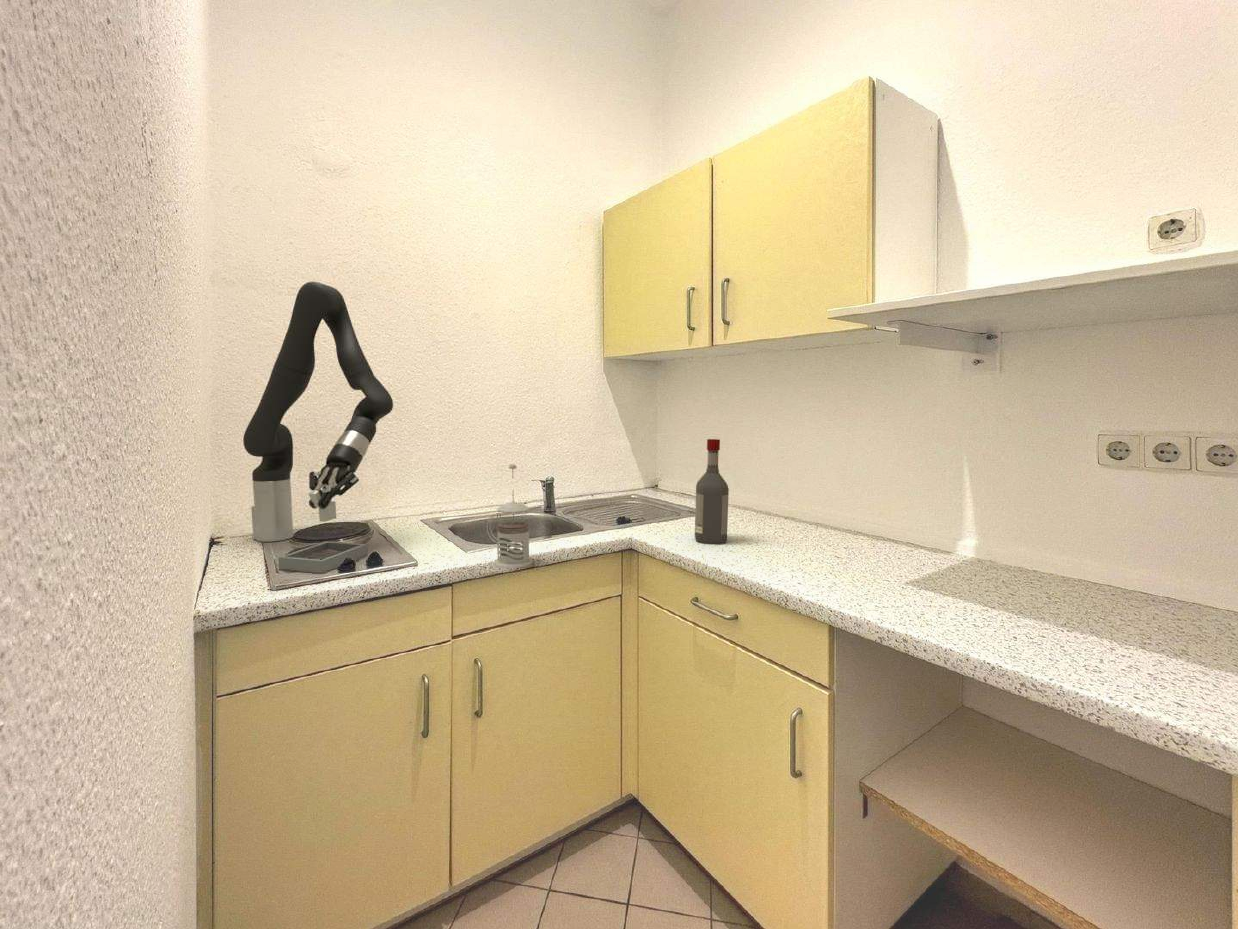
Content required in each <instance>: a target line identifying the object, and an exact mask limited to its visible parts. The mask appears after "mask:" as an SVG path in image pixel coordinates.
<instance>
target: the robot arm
mask: <svg viewBox="0 0 1238 929" xmlns="http://www.w3.org/2000/svg"><path fill="white" fill-rule="evenodd" d="M293 304H294V305H293V309H292V313H291V318H290V321H289V325H288V328H287V330H286V333H285V336H284V339H283V340H282V341H283V342H282V344H281V347H280V350H279V352H278V354H277V357H276V358H275V361H274V365H273V367H272V371H271V373H270V375H269V378H268V382H267V384H266V386H265V389H264V391H263V394H262V396H261V398H260V401H259V403H258V405H257V408H256V409H255V412H254V413H253V415H252V417H251V419H250V421H249V422H248V425H247V427H246V429H245V431H244V433H243V440H242V441H243V446H244V447H243V448H244V449H245V451H246V453H248V454H249V455H250V456H253V457H256V458H262V459H261V462H260V464H259V465H258V466H257V467H256V468H254V469H253V471H252V473H251V476H252V491H253V492H252V493H253V506H251V509H250V510H251V525H252V539H253V540H256V541H258V542H262V543H266V542H267V543H268V542H280V541H284V540H288V539H291V538H294V522H293V519H294V518H293V502H292V485H291V484H292V483H291V473H292V470H293V467H294V442H293V435H292V433H291V431H290V429H289V428H288V427H287V426H286V425H284V424H283V423H281V422H282V420H283V418H284V416H285V415H286V413H287V411H289V409H290V408H291V407H292V406H293V405H294V404H295V403H296V402H297V401H298V400H299V399H300V397H301V396H302V395H303V394H304V392H305V391H306V390H307V389H308V386H309V383H310V381H311V378H312V377H313V376H312V375H313V373H314V371H315V366H316V352H315V340H316V334H317V331H318V329H319V327H320V324H321V322H322V321H323V322H324V323H325V324H326V326H327V327H328V329H329V331H330V332H331V334H332V337H333V340H334V343H335V350H336V357H337V361H338V365H339V368H340V369H341V371H342V373H343V375H344V377H345V379H346V381H347V383H348V385H349V387H350V388H351V390H354V391H361V393H362V394H363V395H364V396H365V397H364V398H362V399H361V400H360V401H359V402H358V404H357V405H356V407H355V408H354V410H353V412H352V416H351V418H350V421H349V423H348V424H347V426H346V427H345V429H344V431H343V432H342V433H341V435H340V436H339V437H338V439H337V440H336V442H335V443H334V446H333V447H332V449H331V450H330V452H329V453H328V455H327V457H326V459H325V460H326V462H325V465H324V466H322V468H321V469H320V470H319V471H317V472H315V471H310V472H309V474H308V479H309V480H308V481H309V483H308V484H309V490H311V491H312V490H316V491H319V494H320V496H321V499H320V501H319V502H318V506H319V507H320V508H321V509H325V508H326V507H327V506H328V505H329V503H330V501H333V499H334V498H335V497H336V496H339V497H340V496H341V497H342V496H343V495H344V494H346V493H347V491H349V490H350V489H351V488H352V487H353V486H355V485H356V484H357V483H358V482H359V481H360V479H359V477H357V475H356V474H355V473H356V471H357V470H358V468H359V467H360V465H361V462H362V461H363V459H364V457H365V456H366V453H367V452H368V449H369V446H370V445H371V443H372V441H373V439H374V437H375V435H376V433H377V426H376V425H377V424H378V423H379V421H380V420H381V419H383V418H385V417H387V415H389V414H391V412H392V411H393V408H394V401H393V398H392V396H391V394H390V392H389V391H388V390H387V388H386V387H385V386H384V385H383V384H382V383H381V381H380V380H379V379H378V378H377V377H376V376H375V374H374V372H373V370H372V368H371V365H370V364H369V362H368V359H367V358H366V356H365V354H364V352H363V349H362V347H361V346H360V343H359V340H358V337H357V334H356V331H355V330H354V329H355V328H354V327H353V323H352V320H351V317H350V314H349V311H348V308H347V304H346V302H345V299H344V296H343V295H342V293H341V292H340V291H339V290H338V289H337V288H336V287H333V286H331V285H328V284H324V283H321V282H317V281H308V282H305V283H304V284H303V285H302V286H301V287H300V289H299V290H298V292H297V294H296V297H295V301H294V303H293ZM343 486H344V487H343ZM308 505H309V506H310V507H311V509H315V510H316V509H317V508H318V507H314V505H313V502H312V500H311V498H310V499H309V501H308Z"/></svg>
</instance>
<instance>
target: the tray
mask: <svg viewBox="0 0 1238 929" xmlns="http://www.w3.org/2000/svg"><path fill="white" fill-rule="evenodd" d="M326 549H332V550H337V551H341V553H338V554H335V555H333V556H330V557H327V558H325V559H322V560H320V559H308V558H305V557H306V556H307V555H310V554H312V553H315V552H321V551H323V550H326ZM367 556H368V544H367V543H354V542H340V541H329V540H328V541H327V540H326V541H323V542H321V543H318V544H315V545H311V546H309V547H306V548H303V549H299V550H296V551H294V552H290V553H287V554H285V555H282V556H278V558H277V560H278V570H279V571H287V572H288V571H291V572H299V573H314V574H322V575H323V574H326V573H328V572H330V571H332V570H335V569H338V568H340V567H341V566H340V565H341V564H342V563H343V562H344V560H345V559H346V558H351V559H353V560H354V561H353V562H355V561H358V560H360V559H363V558H365V557H367Z"/></svg>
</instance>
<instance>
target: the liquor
mask: <svg viewBox="0 0 1238 929" xmlns="http://www.w3.org/2000/svg"><path fill="white" fill-rule="evenodd" d="M706 450H707V463H706V466H707V468H706V469H705V470H706V472H705V473H704V474H703V475H702V476H701V477H700V478H699V479H698V480H697V482H696V486H695V508H694V509H695V512H694V513H695V516H694V539H695V541H696V543H700V544H702V543H703V544H704V545H705V544H706V545H708V544H709V545H722V543H723V544H726V542H727V541H728V523H729V522H728V520H729V519H728V518H729V517H728V515H729V492H730V490H729V489H730V488H729V486H728V483H727V482H726V480H725V479H724V477H723V476H722V475H721V474H720V469H719V451H720V450H721V440H720V439H718V438H707V440H706ZM703 544H702V545H703Z"/></svg>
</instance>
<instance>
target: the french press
mask: <svg viewBox="0 0 1238 929" xmlns="http://www.w3.org/2000/svg"><path fill="white" fill-rule="evenodd" d="M508 469H510V470H511V471H512V478H514V470H516V469H517V465H516V464H514V463H510V464H509V466H508ZM514 492H515V491H512V501H511V502H506V503H504V504H501V505H500V506H498V507H497V508H496V511H497V513H495V514H493V515H492V516H490V517H489V518H488V521H487V524H486V531H487V535H488V537H489V538H490V539H491V541H493V542H495V544H496V546H497V548H496V550H497V552H496V553H497V559H496V560H495V561H494V562H493V565H494V566H496V567H498V568H504V569H516V568H517V569H518V568H524V567H528V566H530V565H532V564H533V562H534V560H533V559H532V558H531V557H530V530H529V529H528V528H527V527H528V523H527V522H524V521H515V514H522V513H523V514H524V513H528V512H529V511H530V507H529V506H527V505H526V504H524V503H521V502H515V501H514V497H515V496H514ZM501 513H503V514H512V521H506V522H505V521H504V522H501V523H499V524H498V527H499V528H500V529H499V530H497V537H495V535H494V534H493V532H492V528H491V527H492V520H493V519H494V517H495V516H496V518H497V520H500V519H501V518H502V517H501ZM489 531H490V533H489ZM513 532H518V533H513ZM511 533H512V534H511ZM490 534H491V535H490ZM491 536H492V537H493V538H492V537H491ZM494 539H495V540H494ZM512 542H513V543H512ZM511 547H513V548H511Z"/></svg>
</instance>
